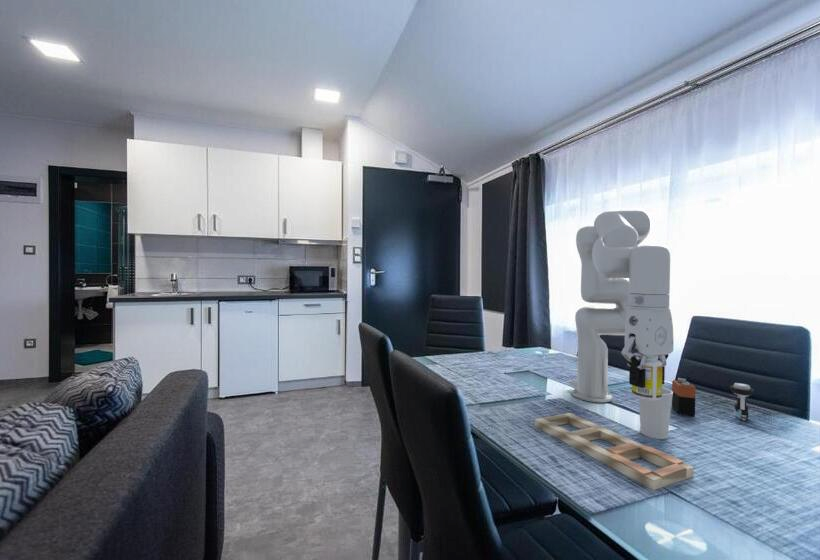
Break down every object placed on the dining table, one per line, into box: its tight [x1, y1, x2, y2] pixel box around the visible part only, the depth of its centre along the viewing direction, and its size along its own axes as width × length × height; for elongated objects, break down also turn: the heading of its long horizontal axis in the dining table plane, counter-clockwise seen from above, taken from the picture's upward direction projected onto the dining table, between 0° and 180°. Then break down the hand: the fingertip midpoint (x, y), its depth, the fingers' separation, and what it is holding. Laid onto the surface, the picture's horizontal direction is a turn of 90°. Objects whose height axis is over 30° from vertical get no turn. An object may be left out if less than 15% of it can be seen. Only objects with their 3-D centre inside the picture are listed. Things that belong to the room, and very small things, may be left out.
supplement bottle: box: [631, 351, 663, 401], centre depth 80 cm, size 6×6×10 cm
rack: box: [534, 412, 695, 491], centre depth 90 cm, size 33×13×2 cm, turn 23°
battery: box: [671, 377, 697, 417], centre depth 115 cm, size 4×7×10 cm, turn 160°
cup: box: [638, 386, 673, 440], centre depth 98 cm, size 8×8×12 cm
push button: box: [729, 382, 755, 421], centre depth 110 cm, size 7×5×10 cm
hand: (646, 383), depth 80 cm, fingers closed on supplement bottle, 5 cm apart
